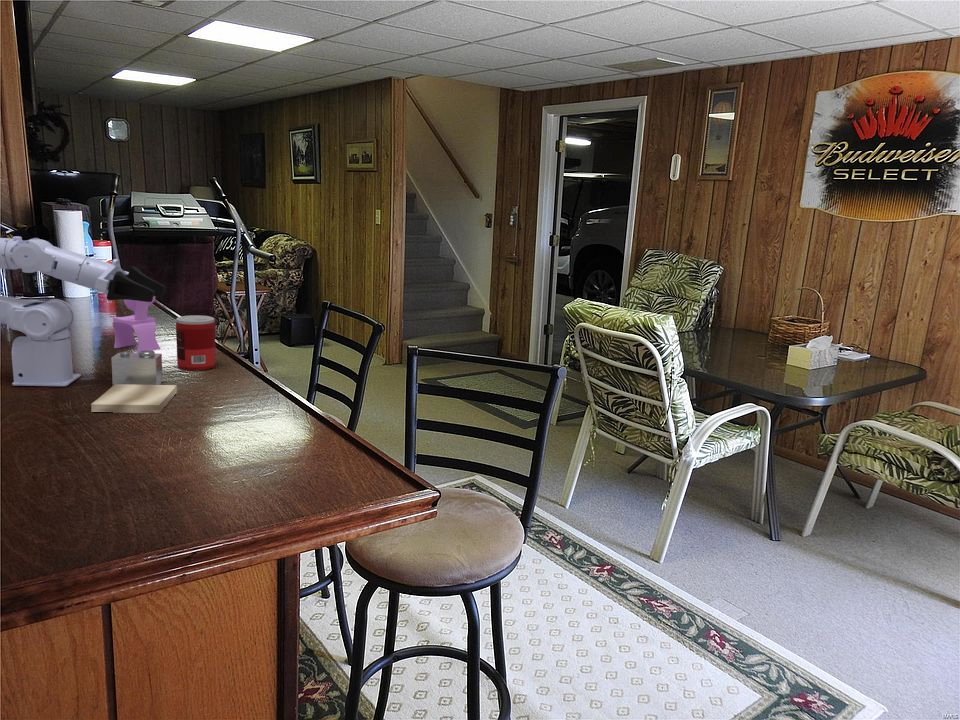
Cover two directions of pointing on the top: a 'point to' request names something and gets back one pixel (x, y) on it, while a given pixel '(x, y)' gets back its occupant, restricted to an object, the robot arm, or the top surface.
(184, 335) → the canned food
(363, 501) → the top surface
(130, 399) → the stand
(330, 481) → the top surface
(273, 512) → the top surface
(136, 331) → the toy chair
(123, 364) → the housing
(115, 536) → the top surface
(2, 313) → the robot arm
